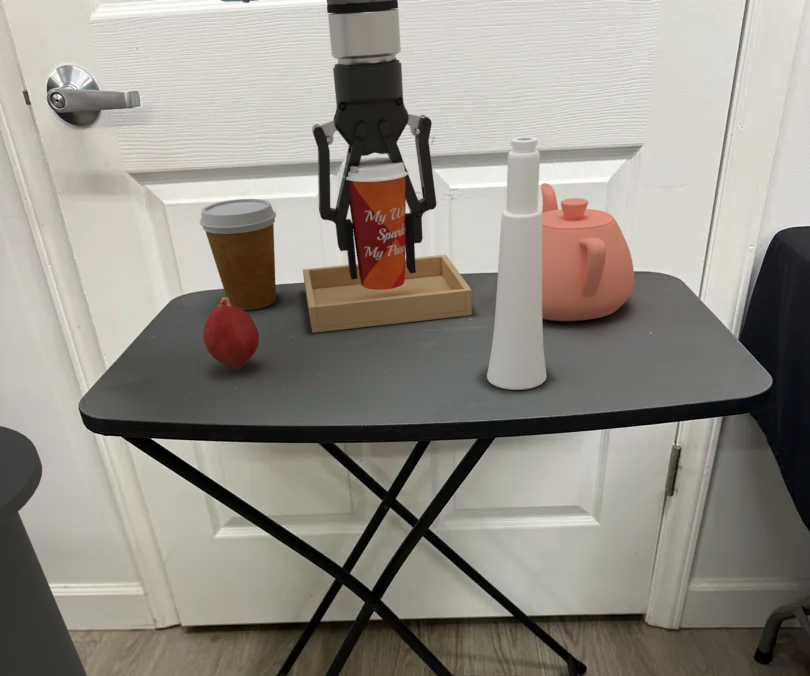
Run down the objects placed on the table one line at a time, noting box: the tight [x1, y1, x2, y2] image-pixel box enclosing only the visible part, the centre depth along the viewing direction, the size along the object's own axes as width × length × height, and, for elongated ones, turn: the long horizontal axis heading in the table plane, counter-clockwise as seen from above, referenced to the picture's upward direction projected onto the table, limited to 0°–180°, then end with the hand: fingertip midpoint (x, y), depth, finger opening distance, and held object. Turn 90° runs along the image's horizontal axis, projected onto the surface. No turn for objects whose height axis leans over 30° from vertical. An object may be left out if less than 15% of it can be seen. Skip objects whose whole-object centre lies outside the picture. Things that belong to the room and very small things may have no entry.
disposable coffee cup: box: [199, 198, 277, 311], centre depth 99 cm, size 10×10×12 cm
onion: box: [202, 296, 260, 371], centre depth 83 cm, size 6×6×8 cm
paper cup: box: [342, 156, 409, 290], centre depth 94 cm, size 8×8×14 cm
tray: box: [302, 254, 473, 334], centre depth 99 cm, size 20×16×3 cm
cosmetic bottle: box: [486, 136, 548, 391], centre depth 72 cm, size 6×6×22 cm
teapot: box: [540, 182, 635, 322], centre depth 92 cm, size 22×15×12 cm
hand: (382, 272), depth 97 cm, fingers closed on paper cup, 7 cm apart
